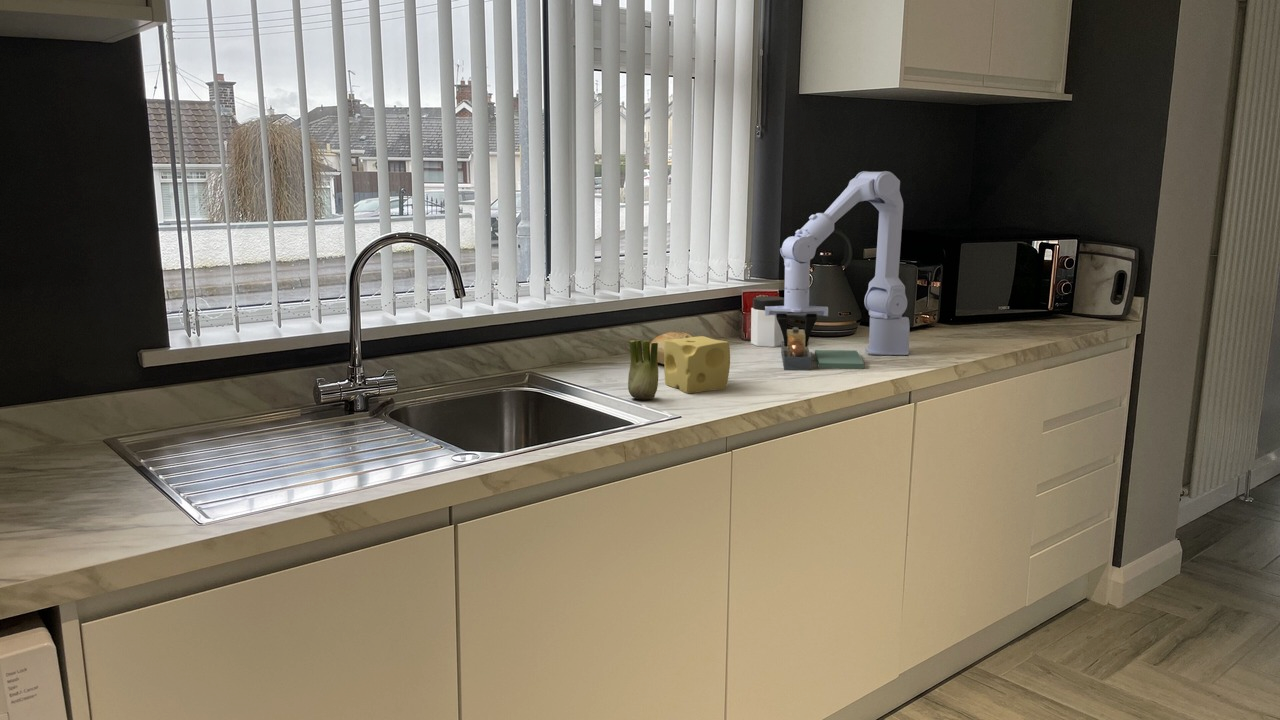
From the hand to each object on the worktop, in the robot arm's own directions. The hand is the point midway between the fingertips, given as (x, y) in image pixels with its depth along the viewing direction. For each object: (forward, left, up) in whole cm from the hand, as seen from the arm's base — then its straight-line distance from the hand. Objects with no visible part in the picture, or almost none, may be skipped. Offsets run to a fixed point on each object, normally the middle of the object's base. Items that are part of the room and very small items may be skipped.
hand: (795, 345), depth 230 cm
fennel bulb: (+32, +40, -4) cm, 51 cm away
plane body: (0, 0, -4) cm, 4 cm away
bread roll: (+28, +7, -4) cm, 29 cm away
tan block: (0, 0, -1) cm, 1 cm away
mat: (-10, 0, -4) cm, 11 cm away
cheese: (+22, +28, -4) cm, 36 cm away
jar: (+6, -22, -4) cm, 23 cm away
